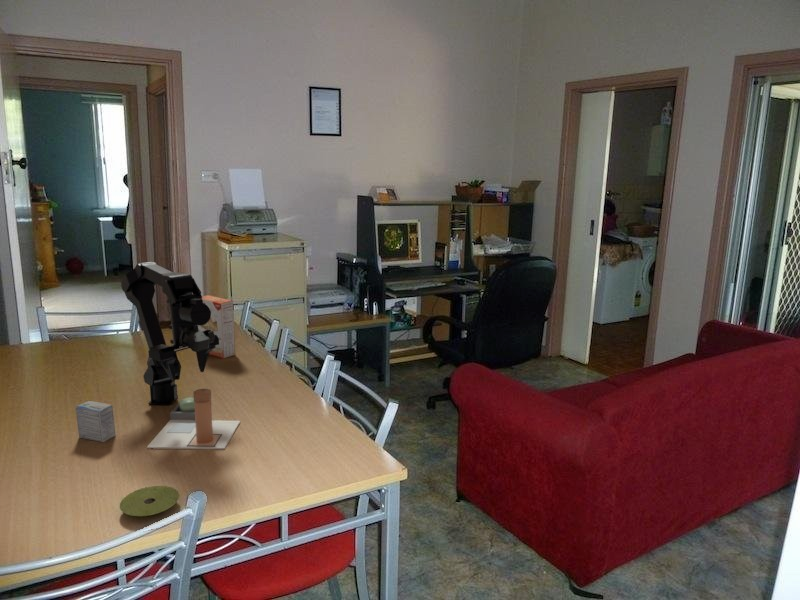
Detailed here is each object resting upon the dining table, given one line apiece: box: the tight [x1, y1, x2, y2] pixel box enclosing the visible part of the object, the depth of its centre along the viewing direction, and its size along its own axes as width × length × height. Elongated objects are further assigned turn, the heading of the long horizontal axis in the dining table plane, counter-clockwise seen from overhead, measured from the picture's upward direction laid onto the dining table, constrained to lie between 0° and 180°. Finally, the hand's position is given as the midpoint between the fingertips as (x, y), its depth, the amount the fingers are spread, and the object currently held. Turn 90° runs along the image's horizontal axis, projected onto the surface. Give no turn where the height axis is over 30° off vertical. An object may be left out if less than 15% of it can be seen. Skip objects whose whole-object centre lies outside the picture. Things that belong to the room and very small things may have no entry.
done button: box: [179, 396, 195, 412], centre depth 166 cm, size 5×5×3 cm
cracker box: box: [198, 294, 236, 360], centre depth 218 cm, size 14×6×21 cm, turn 55°
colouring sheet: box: [146, 419, 241, 450], centre depth 155 cm, size 19×16×1 cm
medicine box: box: [75, 400, 117, 443], centre depth 152 cm, size 8×4×9 cm, turn 71°
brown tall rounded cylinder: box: [192, 388, 213, 444], centre depth 150 cm, size 4×4×13 cm
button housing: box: [169, 401, 195, 421], centre depth 167 cm, size 8×8×2 cm
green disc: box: [119, 485, 180, 517], centre depth 122 cm, size 11×11×2 cm
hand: (188, 376), depth 164 cm, fingers open, 9 cm apart
